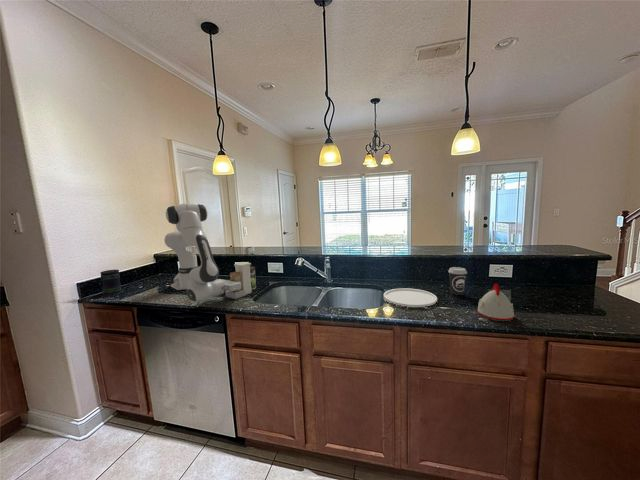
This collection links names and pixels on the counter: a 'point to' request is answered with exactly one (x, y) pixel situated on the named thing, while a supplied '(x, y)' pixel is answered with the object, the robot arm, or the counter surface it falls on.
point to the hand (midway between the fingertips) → (236, 281)
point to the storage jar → (110, 282)
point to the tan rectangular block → (235, 279)
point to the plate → (410, 297)
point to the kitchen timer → (496, 305)
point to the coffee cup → (457, 280)
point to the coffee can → (252, 277)
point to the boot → (242, 281)
